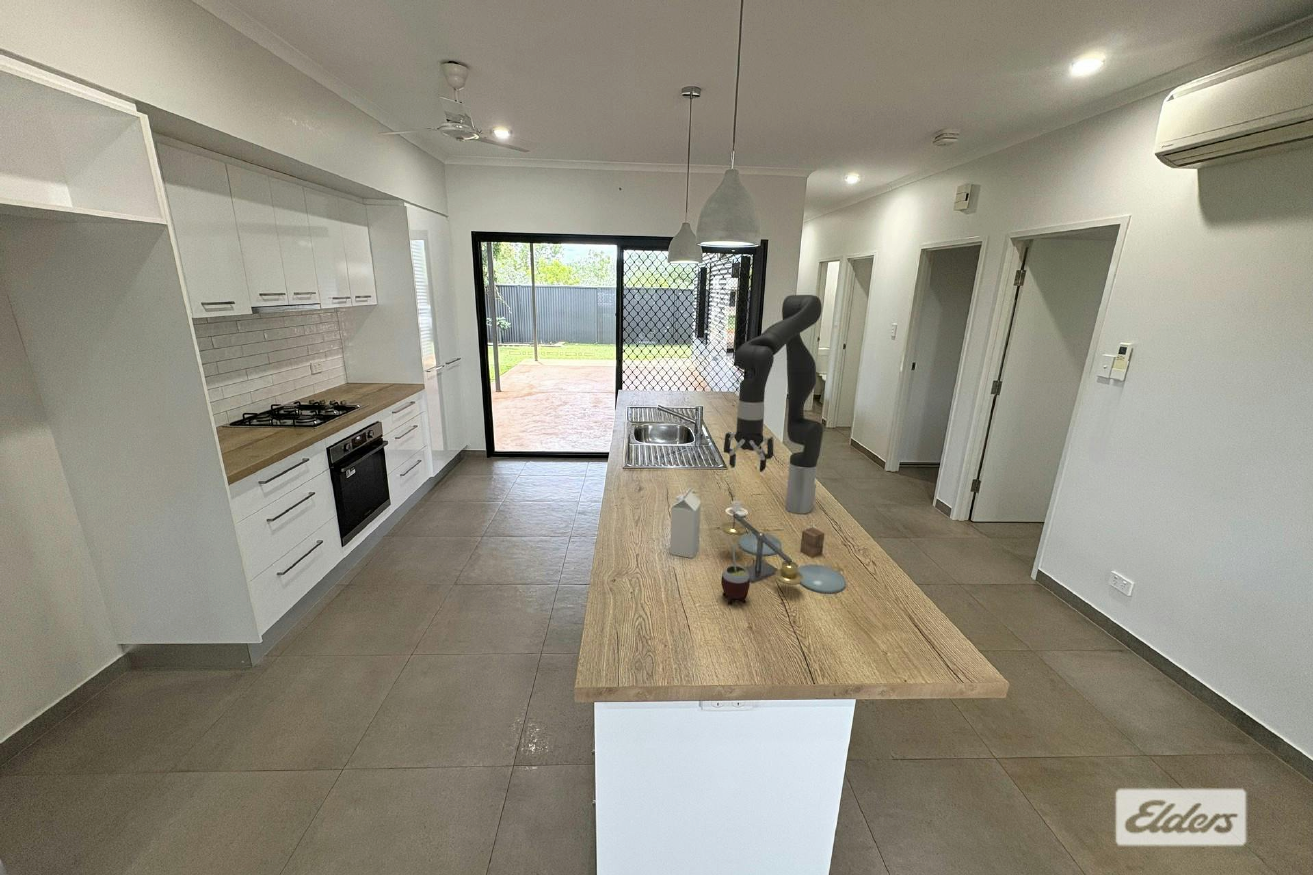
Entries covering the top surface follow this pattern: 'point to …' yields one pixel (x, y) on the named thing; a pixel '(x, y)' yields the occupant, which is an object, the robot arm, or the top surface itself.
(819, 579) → the dish
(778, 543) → the pale blue flat disc
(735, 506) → the teacup and saucer
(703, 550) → the top surface
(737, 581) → the mate gourd
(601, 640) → the top surface
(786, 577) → the balance
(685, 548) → the milk carton
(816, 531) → the walnut block
